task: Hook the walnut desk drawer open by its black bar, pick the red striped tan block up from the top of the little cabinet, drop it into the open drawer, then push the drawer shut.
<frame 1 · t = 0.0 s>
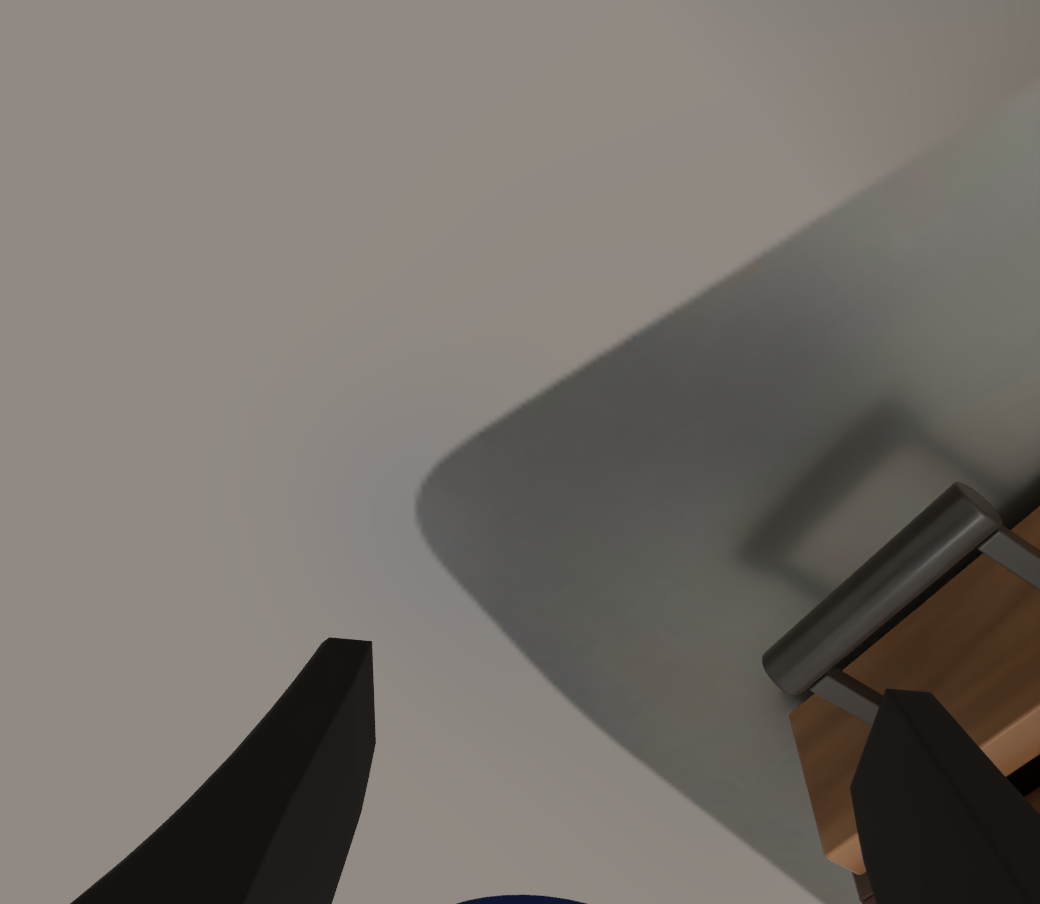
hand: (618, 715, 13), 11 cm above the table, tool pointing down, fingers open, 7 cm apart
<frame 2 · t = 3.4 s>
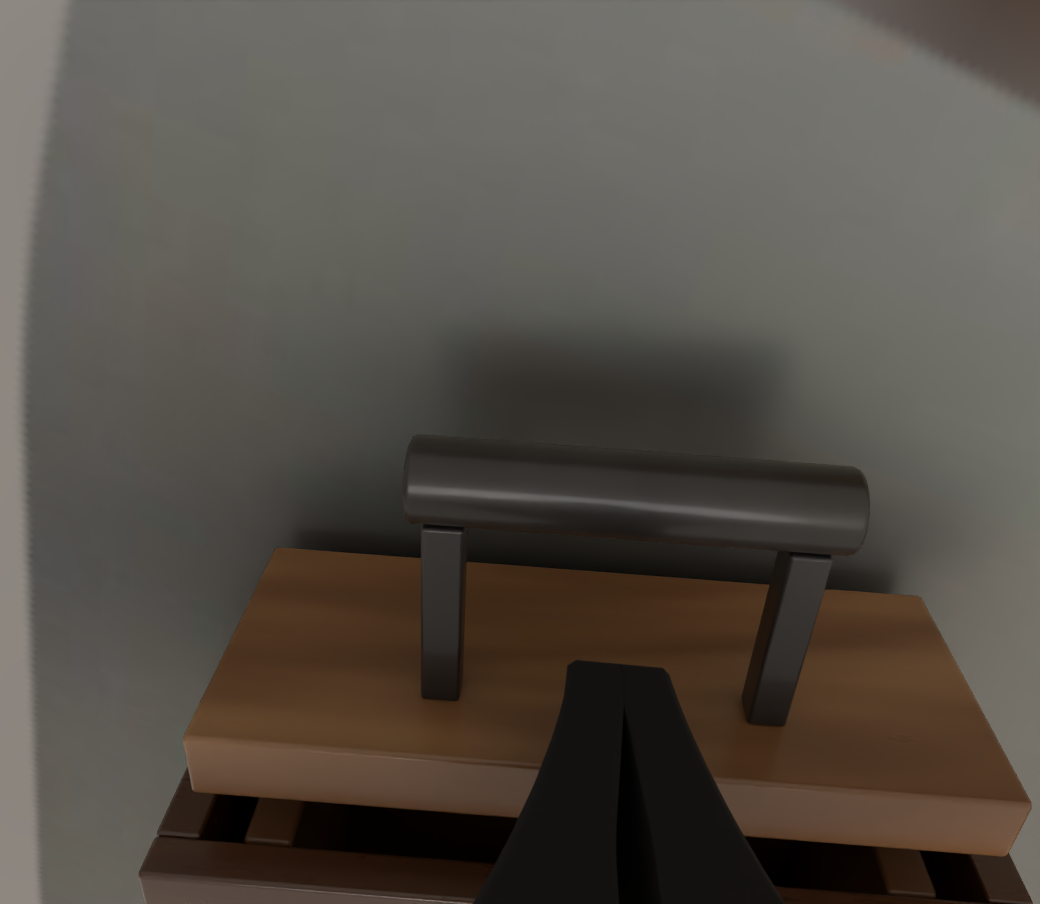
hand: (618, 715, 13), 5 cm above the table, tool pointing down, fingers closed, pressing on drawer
cabinet: (561, 816, 21), on the table
drawer: (580, 798, 16), point 3 cm above the table, slide at 0.8 cm, touching gripper
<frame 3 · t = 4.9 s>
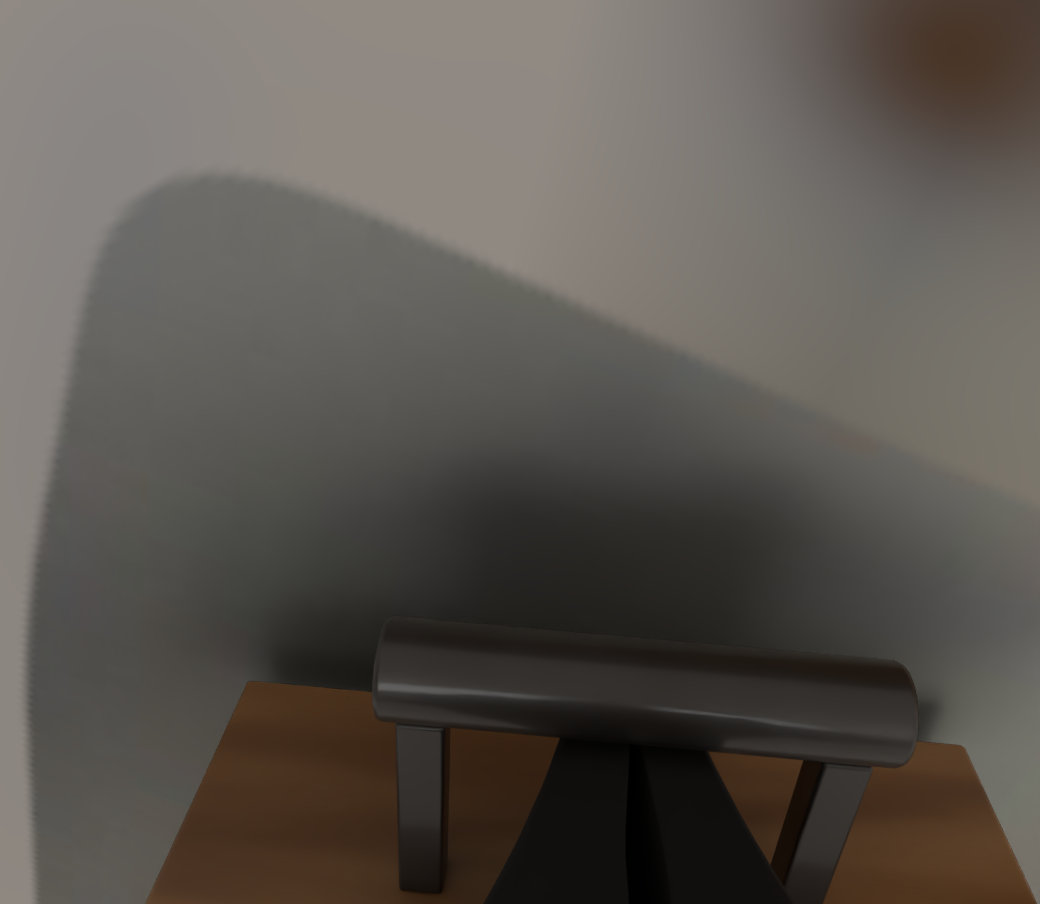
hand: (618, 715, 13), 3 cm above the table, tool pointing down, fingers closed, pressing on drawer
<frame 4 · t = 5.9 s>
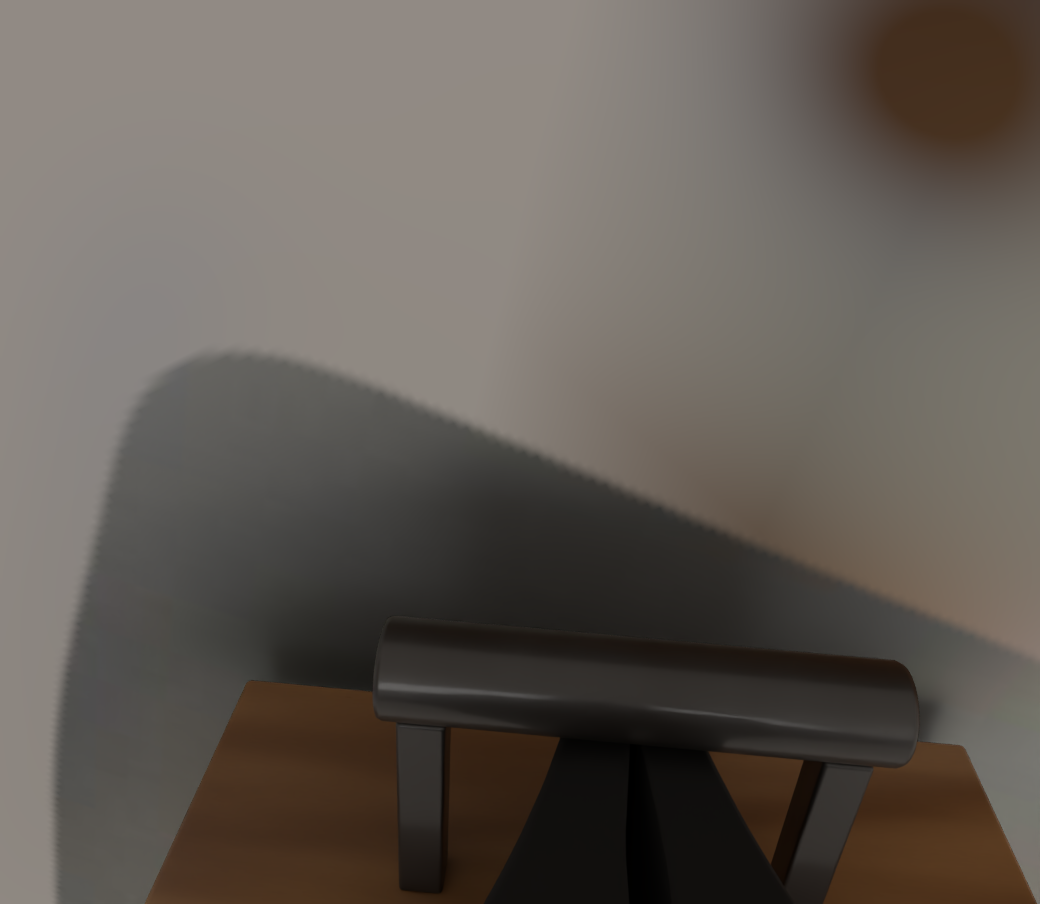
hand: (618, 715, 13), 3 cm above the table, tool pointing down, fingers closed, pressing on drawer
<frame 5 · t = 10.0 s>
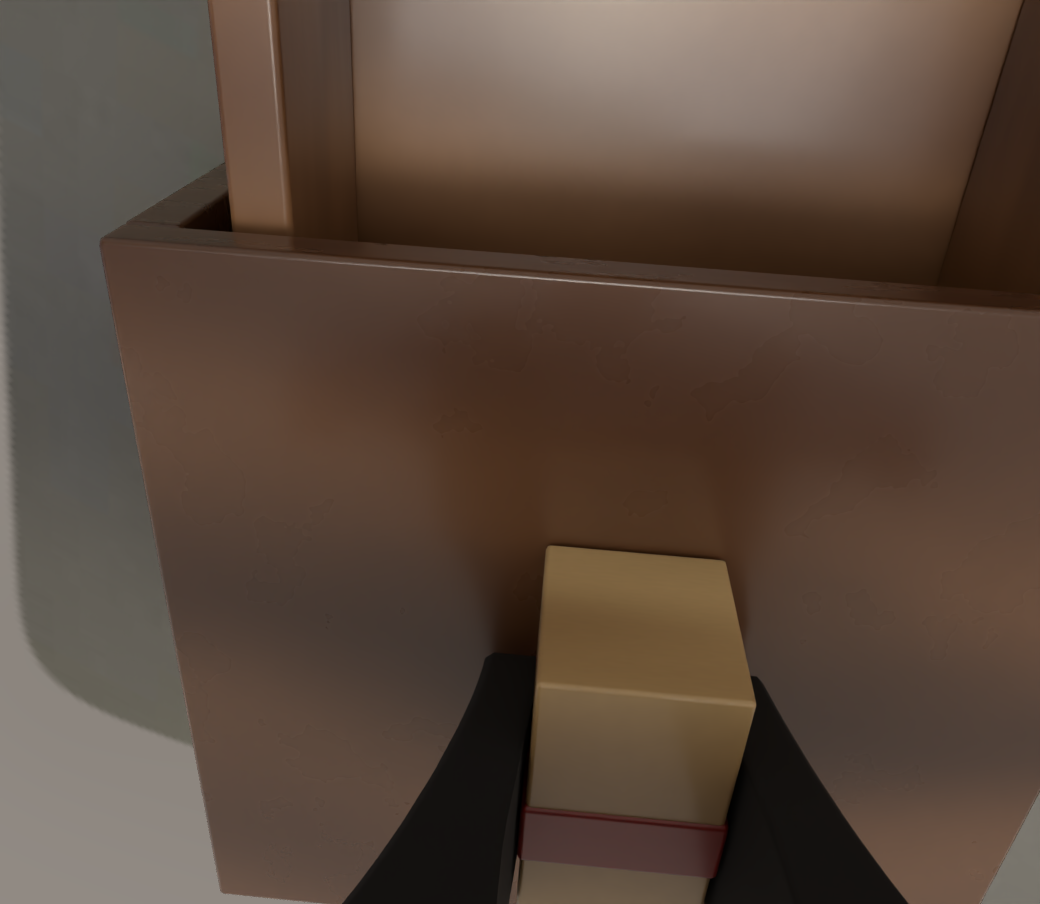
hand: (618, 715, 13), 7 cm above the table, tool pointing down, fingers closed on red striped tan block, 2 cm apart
cabinet: (609, 463, 19), on the table
red striped tan block: (615, 687, 13), point 6 cm above the table, touching cabinet, gripper
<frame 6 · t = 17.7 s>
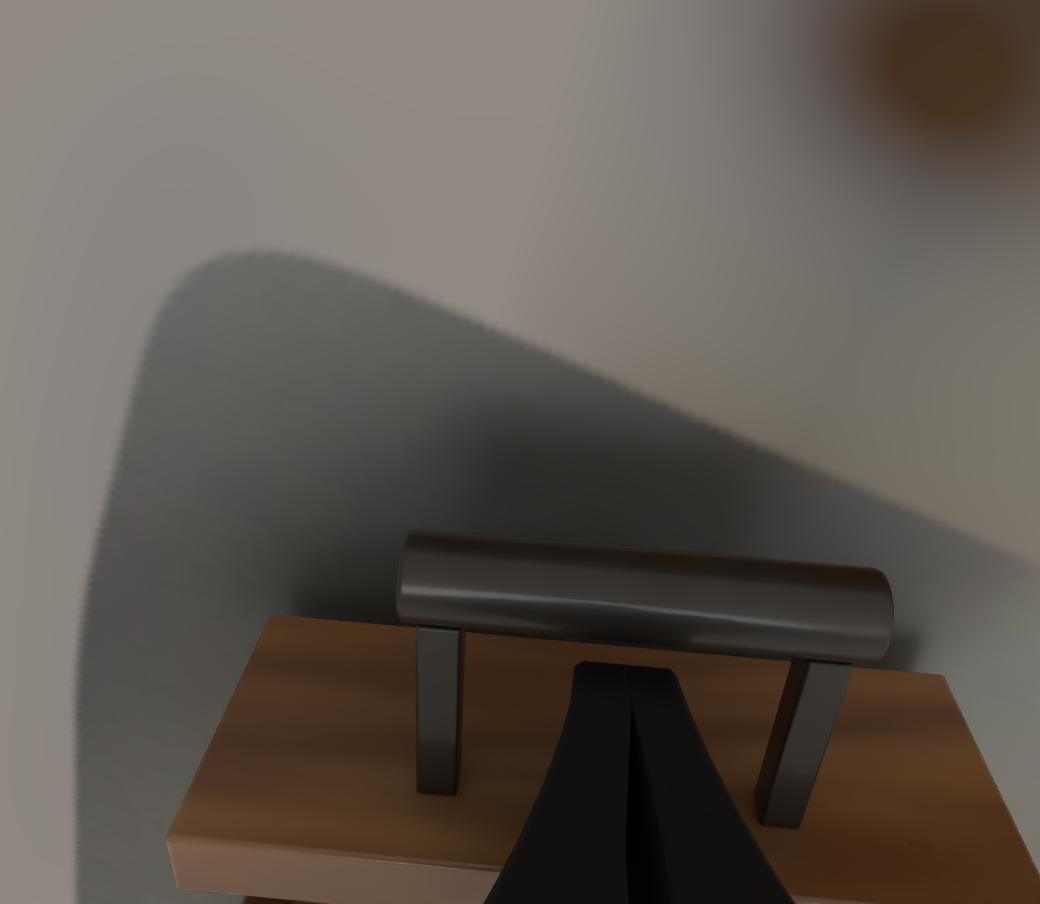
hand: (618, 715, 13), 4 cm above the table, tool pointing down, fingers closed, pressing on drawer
drawer: (584, 881, 16), point 3 cm above the table, slide at 6.6 cm, touching red striped tan block, gripper
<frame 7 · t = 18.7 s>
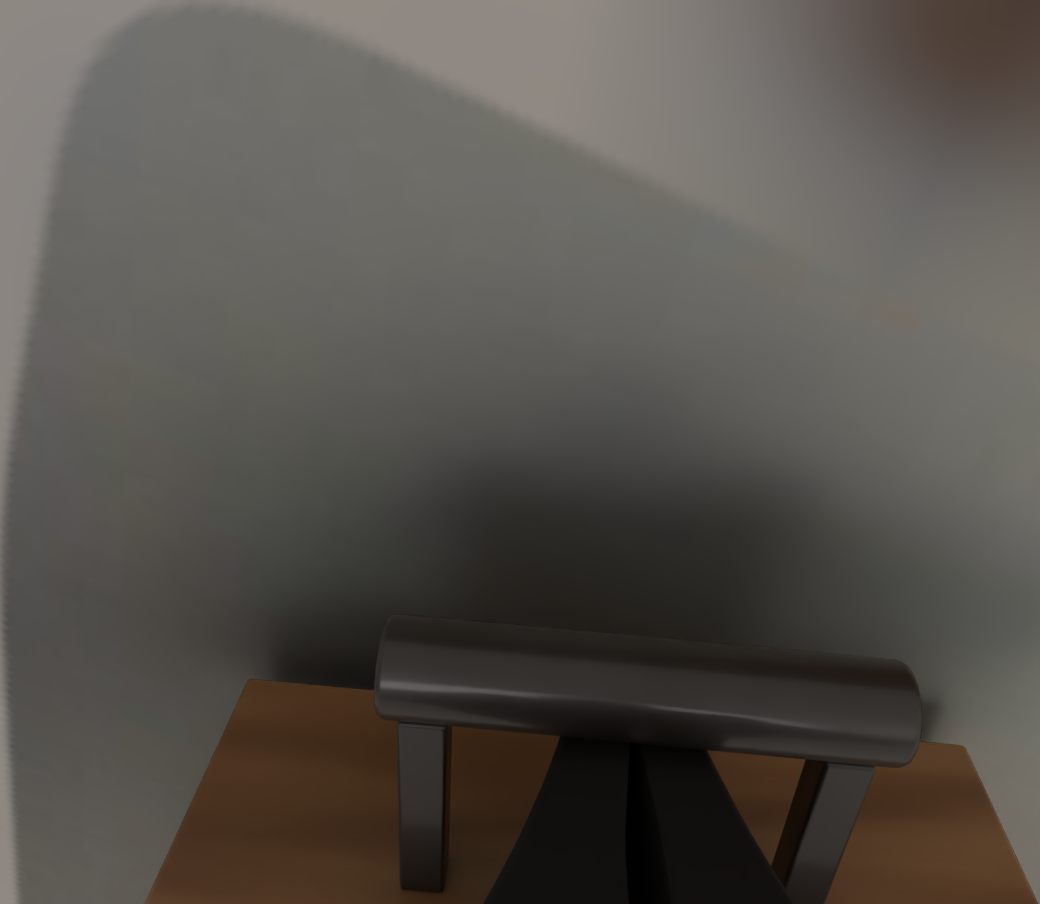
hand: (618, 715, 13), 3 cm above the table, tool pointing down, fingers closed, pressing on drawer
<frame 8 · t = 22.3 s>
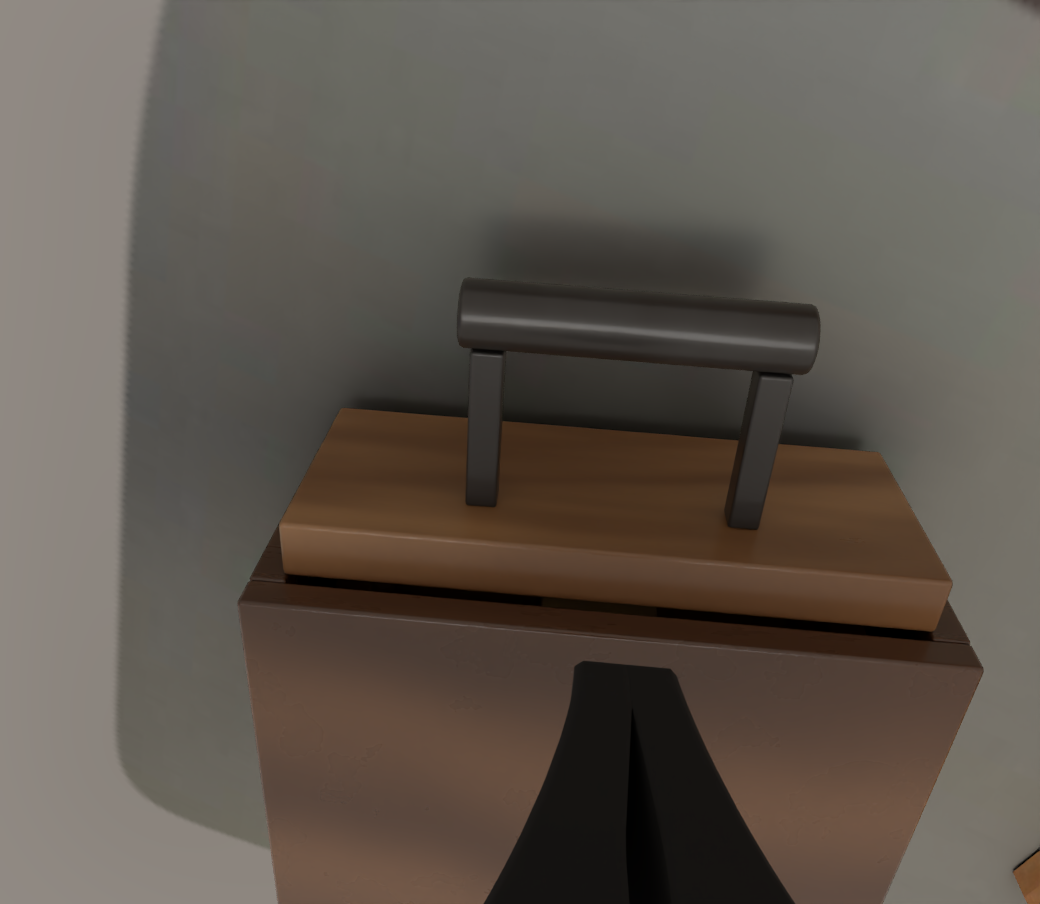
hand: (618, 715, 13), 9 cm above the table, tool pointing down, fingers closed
cabinet: (578, 648, 24), on the table
red striped tan block: (587, 623, 21), point 2 cm above the table, touching drawer
drawer: (592, 616, 20), point 3 cm above the table, slide at 0.0 cm, touching red striped tan block
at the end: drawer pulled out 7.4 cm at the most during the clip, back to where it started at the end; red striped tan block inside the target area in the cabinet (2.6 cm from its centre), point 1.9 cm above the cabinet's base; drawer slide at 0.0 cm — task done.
